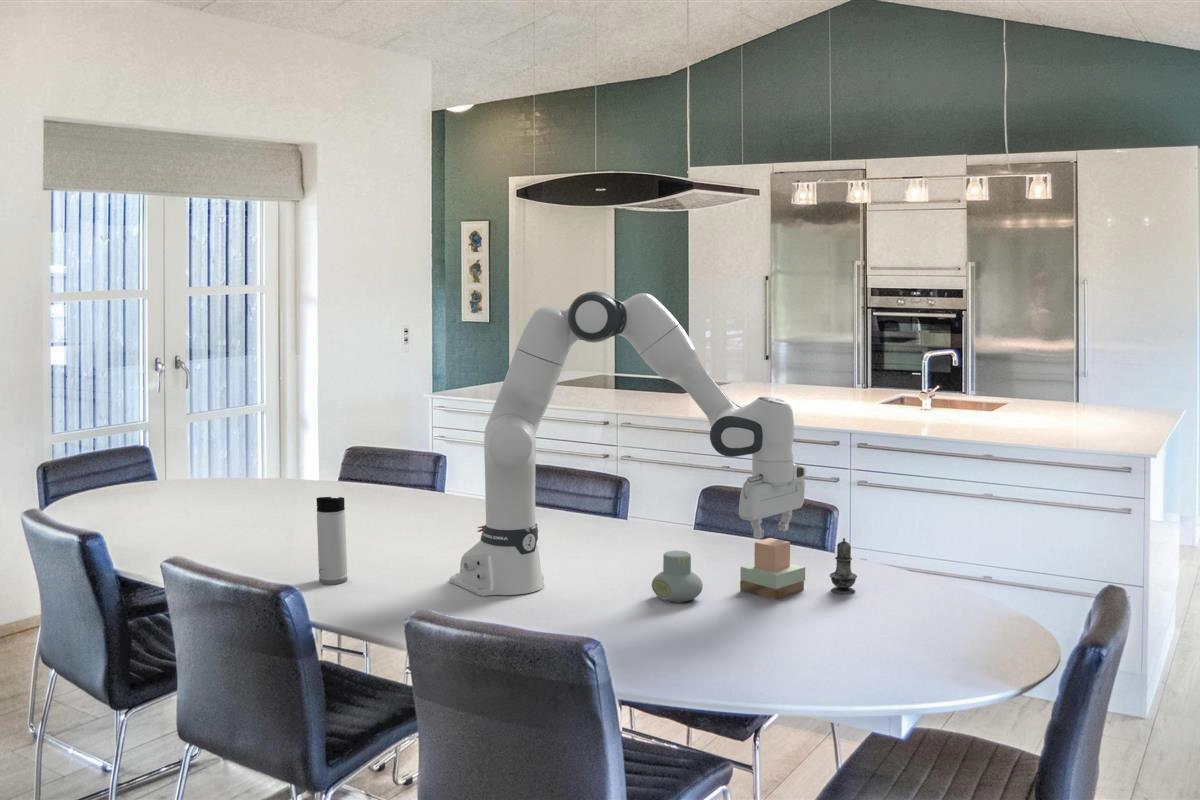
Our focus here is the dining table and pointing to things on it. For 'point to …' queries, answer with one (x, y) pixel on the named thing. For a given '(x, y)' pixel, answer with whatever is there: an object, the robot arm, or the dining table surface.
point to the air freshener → (677, 578)
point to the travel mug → (331, 540)
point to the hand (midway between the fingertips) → (771, 534)
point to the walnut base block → (771, 590)
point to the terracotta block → (772, 554)
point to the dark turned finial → (843, 570)
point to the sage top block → (773, 576)
